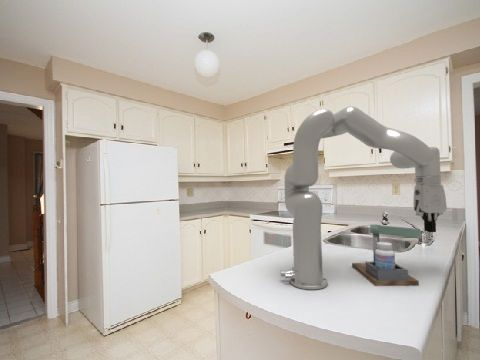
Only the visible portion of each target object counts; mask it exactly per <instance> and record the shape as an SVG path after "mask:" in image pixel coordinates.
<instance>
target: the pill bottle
mask: <svg viewBox="0 0 480 360" xmlns="http://www.w3.org/2000/svg"><path fill="white" fill-rule="evenodd" d="M377 247H378V249H376V250H375V267H377V268H378V269H395V263H396V254H395V251H394V250H393V243H391V242H385V241H380V242H378V243H377Z"/></svg>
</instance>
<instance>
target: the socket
mask: <svg viewBox="0 0 480 360" xmlns="http://www.w3.org/2000/svg"><path fill="white" fill-rule="evenodd" d="M364 263H366V272H367V273H368V274H370V275H371V276H372V277H374V278H375V279H376V280H378V281H408V275H409V270H408V269H407V268H405V267H403V266H401V265H400V264H398V263H396V262H395V269H378V268H377V267H375V262H374V261H365V262H364Z"/></svg>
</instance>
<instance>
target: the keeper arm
mask: <svg viewBox="0 0 480 360" xmlns="http://www.w3.org/2000/svg"><path fill="white" fill-rule="evenodd" d="M369 231H370V233H371V234H373V233H374V234H379V235H385V236H386V235H387V236H394V237H395V236H396V237H403V238H413V239H421V238H422V232H421V231H422V230H421V228H414V227H413V228H412V227H403V226H393V225H383V224H376V223H375V224H373V223H372V224H370V225H369Z"/></svg>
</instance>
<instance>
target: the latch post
mask: <svg viewBox="0 0 480 360" xmlns="http://www.w3.org/2000/svg"><path fill="white" fill-rule="evenodd" d="M380 238H381V237H380V234H374V233H372V252H373V254H372V255H373V256H372V257H373V262H375V250H376V249H378V247H377V243H378V242H381V241H380Z"/></svg>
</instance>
